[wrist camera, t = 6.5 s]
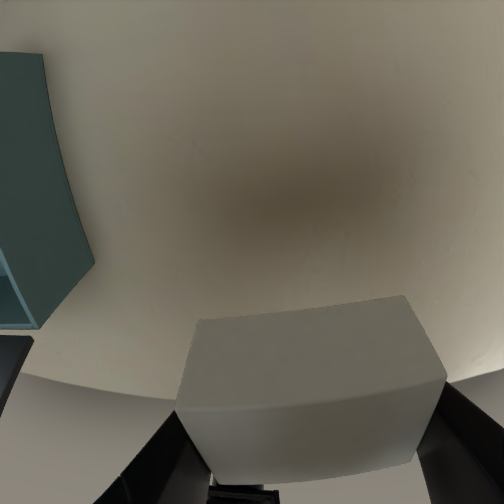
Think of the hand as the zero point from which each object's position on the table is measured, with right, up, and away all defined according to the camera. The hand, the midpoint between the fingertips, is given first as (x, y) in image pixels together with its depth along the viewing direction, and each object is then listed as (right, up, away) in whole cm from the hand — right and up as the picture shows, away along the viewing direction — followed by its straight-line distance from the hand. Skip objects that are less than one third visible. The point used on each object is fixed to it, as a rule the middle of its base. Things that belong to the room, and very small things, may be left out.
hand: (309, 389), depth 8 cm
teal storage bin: (-20, +9, +10) cm, 24 cm away
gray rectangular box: (0, +1, +1) cm, 1 cm away
